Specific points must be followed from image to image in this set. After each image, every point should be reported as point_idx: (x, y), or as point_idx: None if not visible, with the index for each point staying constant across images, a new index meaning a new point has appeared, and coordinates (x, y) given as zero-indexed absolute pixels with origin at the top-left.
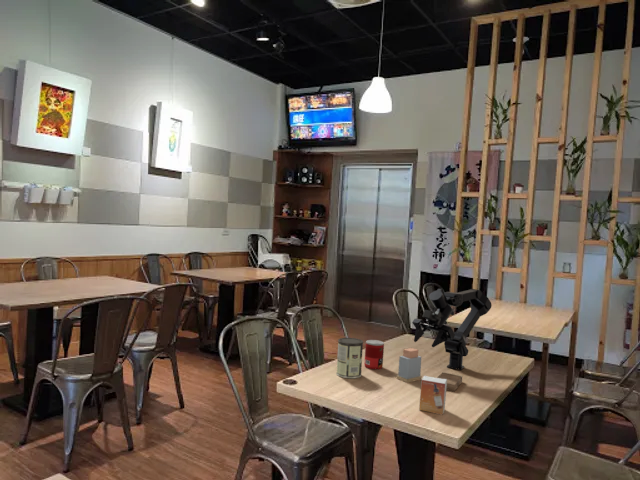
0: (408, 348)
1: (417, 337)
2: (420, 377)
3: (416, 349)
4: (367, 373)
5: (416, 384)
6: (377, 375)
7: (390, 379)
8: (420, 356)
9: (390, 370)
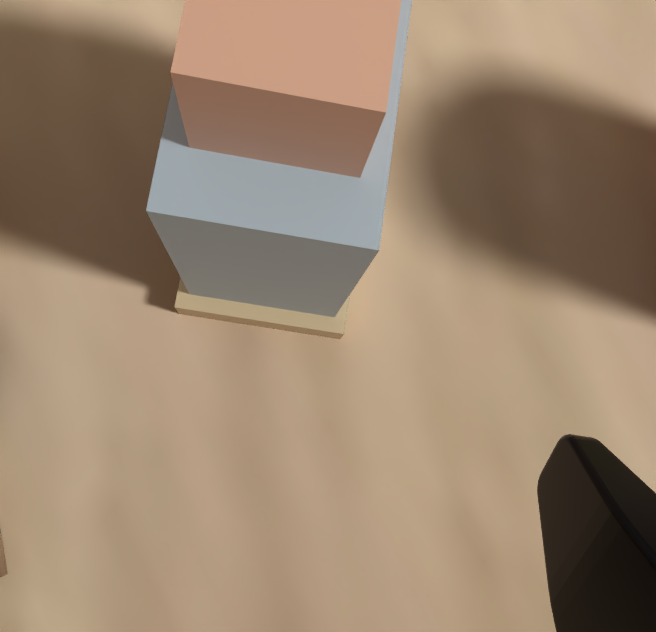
0: (398, 11)
1: (616, 623)
2: (180, 287)
3: (226, 75)
4: (650, 26)
5: (124, 100)
6: (553, 47)
7: None
8: (168, 208)
9: (587, 305)
